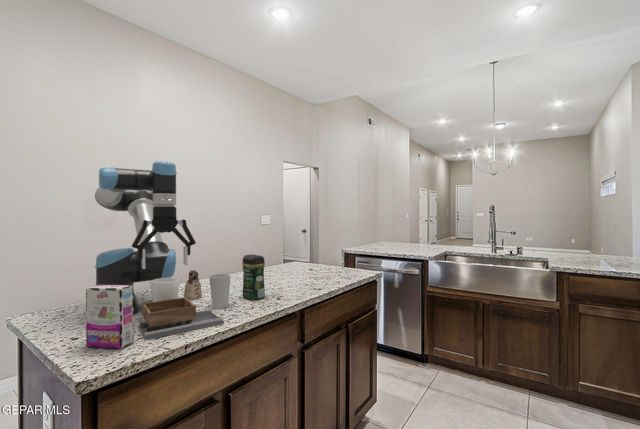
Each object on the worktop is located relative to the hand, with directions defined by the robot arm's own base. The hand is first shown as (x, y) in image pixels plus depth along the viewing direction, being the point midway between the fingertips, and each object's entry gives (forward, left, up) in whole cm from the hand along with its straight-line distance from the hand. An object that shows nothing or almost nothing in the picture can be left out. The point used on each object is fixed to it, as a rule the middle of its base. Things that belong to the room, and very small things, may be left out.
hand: (165, 266), depth 115 cm
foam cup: (0, 0, -18) cm, 18 cm away
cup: (-2, +20, -18) cm, 27 cm away
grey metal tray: (+12, +2, -18) cm, 22 cm away
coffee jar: (-6, +36, -18) cm, 41 cm away
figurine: (-22, +15, -18) cm, 32 cm away
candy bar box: (+17, -17, -18) cm, 30 cm away
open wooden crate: (+12, -1, -16) cm, 20 cm away
